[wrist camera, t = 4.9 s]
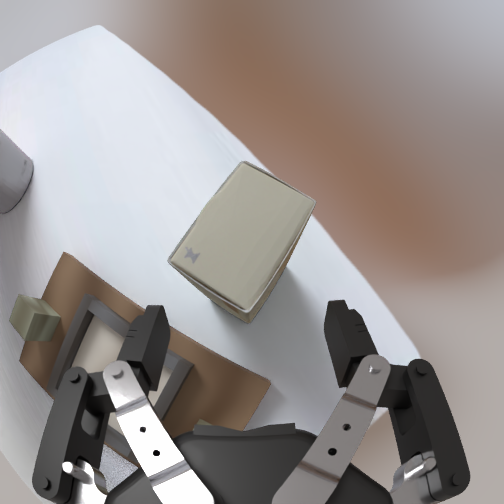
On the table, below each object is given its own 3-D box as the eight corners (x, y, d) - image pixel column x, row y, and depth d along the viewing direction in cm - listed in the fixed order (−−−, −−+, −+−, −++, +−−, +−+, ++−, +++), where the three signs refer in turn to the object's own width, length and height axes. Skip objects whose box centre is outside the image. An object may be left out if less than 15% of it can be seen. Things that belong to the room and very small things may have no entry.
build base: (27, 360, 21) (-6, 361, 16) (71, 255, 24) (39, 239, 19) (198, 490, 18) (186, 521, 13) (269, 380, 21) (274, 396, 16)
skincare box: (249, 325, 22) (245, 324, 11) (206, 297, 23) (159, 266, 11) (289, 262, 24) (322, 199, 12) (247, 236, 24) (241, 155, 13)
